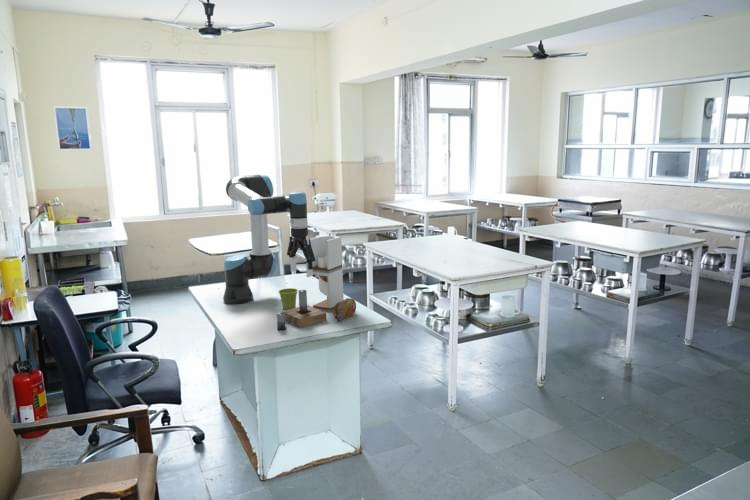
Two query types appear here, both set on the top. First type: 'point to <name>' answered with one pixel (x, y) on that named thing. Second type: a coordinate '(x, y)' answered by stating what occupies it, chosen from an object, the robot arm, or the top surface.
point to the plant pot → (288, 297)
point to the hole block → (304, 316)
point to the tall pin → (303, 301)
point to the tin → (344, 309)
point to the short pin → (281, 322)
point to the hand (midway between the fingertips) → (301, 273)
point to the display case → (328, 270)
